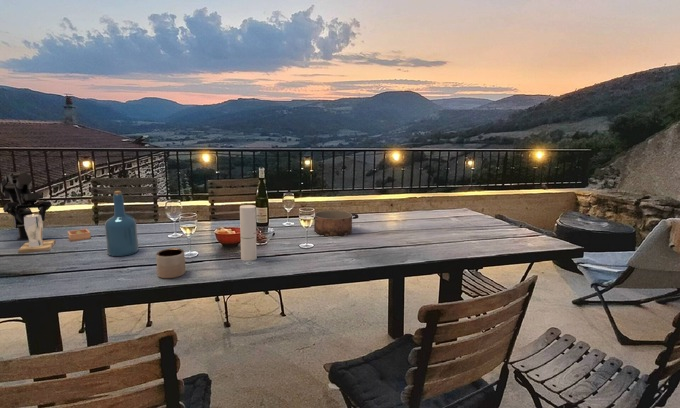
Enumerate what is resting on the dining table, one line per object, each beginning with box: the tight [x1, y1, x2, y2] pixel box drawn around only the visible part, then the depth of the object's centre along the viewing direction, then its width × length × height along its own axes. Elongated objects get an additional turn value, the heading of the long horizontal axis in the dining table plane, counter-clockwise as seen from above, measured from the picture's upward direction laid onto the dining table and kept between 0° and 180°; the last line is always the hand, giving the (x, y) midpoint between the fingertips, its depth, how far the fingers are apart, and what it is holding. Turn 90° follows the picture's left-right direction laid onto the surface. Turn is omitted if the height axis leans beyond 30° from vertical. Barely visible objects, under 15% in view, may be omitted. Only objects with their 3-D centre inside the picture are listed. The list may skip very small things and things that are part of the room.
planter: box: [155, 248, 187, 280], centre depth 163 cm, size 11×11×10 cm
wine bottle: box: [104, 190, 139, 257], centre depth 186 cm, size 14×13×30 cm
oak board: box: [17, 239, 56, 254], centre depth 193 cm, size 14×12×2 cm
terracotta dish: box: [66, 228, 92, 242], centre depth 210 cm, size 9×9×4 cm
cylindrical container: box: [239, 204, 258, 262], centre depth 183 cm, size 7×7×25 cm
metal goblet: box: [24, 213, 44, 247], centre depth 190 cm, size 7×7×15 cm
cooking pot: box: [313, 209, 359, 237], centre depth 233 cm, size 30×22×11 cm
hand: (33, 221), depth 195 cm, fingers open, 9 cm apart
